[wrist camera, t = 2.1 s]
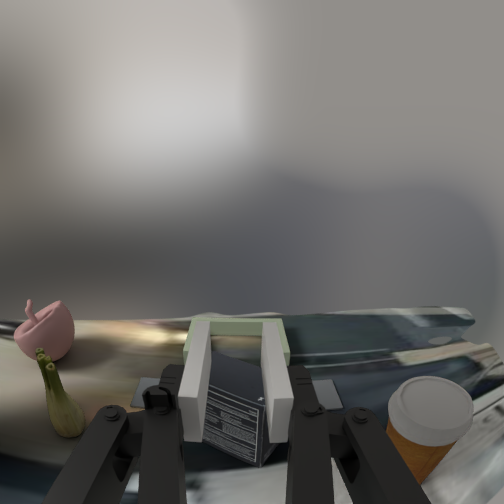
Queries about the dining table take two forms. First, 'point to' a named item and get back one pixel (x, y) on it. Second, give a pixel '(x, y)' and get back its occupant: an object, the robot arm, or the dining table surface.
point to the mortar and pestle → (46, 331)
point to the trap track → (245, 328)
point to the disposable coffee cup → (427, 421)
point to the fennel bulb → (59, 400)
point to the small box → (237, 411)
